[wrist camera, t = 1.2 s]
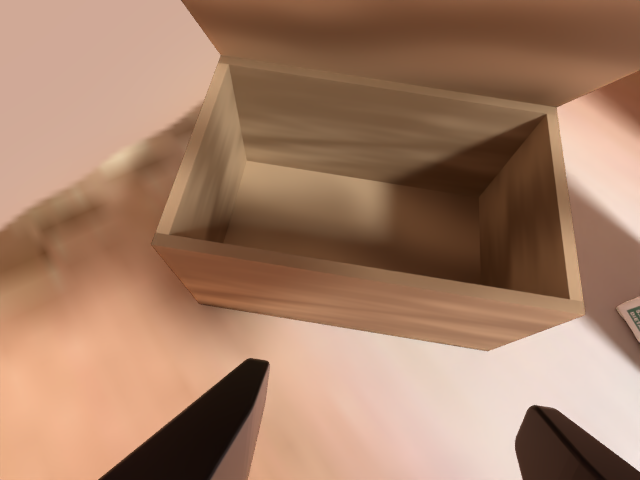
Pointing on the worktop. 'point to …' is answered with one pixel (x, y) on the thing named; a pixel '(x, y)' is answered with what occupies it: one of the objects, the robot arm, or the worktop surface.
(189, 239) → the light wood open box
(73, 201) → the worktop surface
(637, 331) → the syrup box
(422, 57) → the flap
